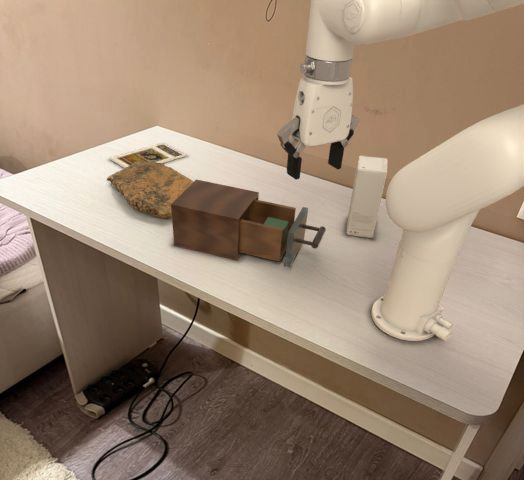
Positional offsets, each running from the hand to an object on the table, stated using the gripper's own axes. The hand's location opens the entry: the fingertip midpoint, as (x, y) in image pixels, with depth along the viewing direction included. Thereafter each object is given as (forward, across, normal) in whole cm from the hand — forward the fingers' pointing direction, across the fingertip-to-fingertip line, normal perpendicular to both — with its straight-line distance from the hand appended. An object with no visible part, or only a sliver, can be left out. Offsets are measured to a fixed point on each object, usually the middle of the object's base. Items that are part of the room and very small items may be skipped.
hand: (314, 171), depth 91 cm
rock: (+19, -17, +40) cm, 47 cm away
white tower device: (+19, +20, +4) cm, 28 cm away
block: (+17, -4, +5) cm, 18 cm away
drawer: (+18, -4, +5) cm, 19 cm away
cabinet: (+19, -12, +16) cm, 27 cm away
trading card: (+19, -8, +61) cm, 65 cm away
